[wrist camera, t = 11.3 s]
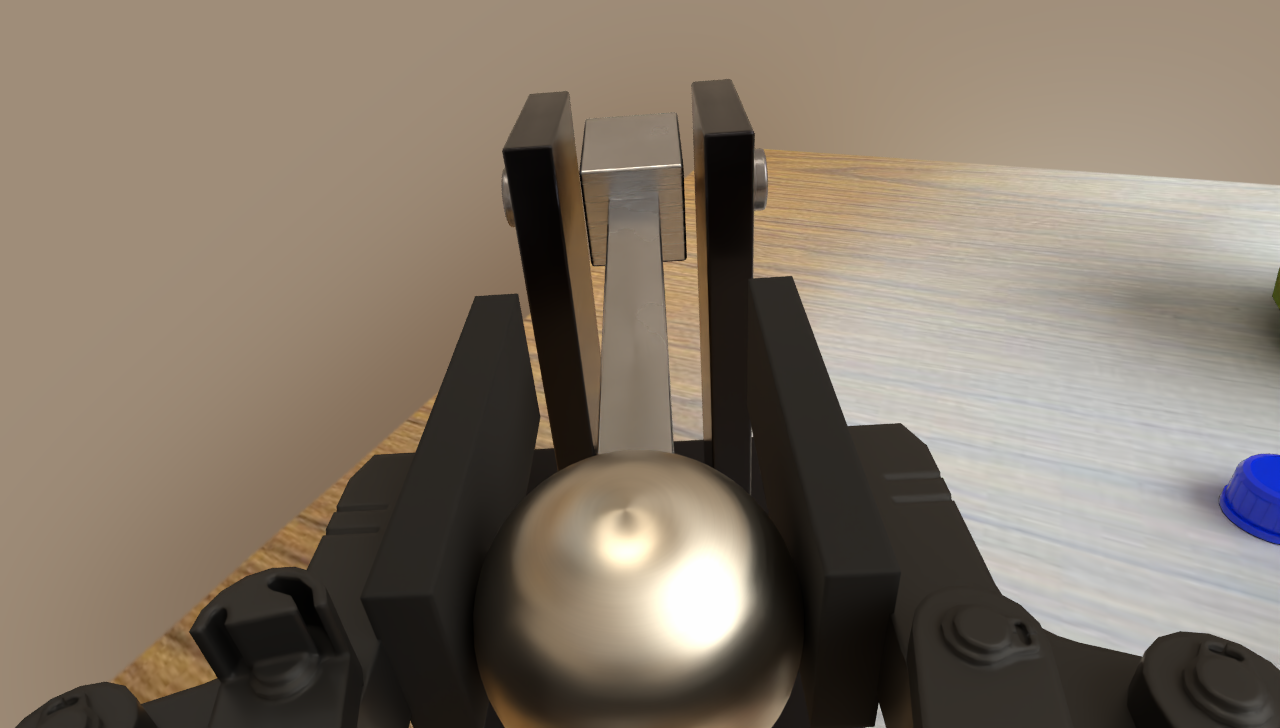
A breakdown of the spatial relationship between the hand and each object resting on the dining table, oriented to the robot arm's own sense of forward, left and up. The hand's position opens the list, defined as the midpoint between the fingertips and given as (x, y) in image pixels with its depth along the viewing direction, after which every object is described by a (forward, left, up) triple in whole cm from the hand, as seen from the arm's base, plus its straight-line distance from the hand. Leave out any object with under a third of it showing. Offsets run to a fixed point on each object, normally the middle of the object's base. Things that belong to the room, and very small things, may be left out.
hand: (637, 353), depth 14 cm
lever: (0, 0, -2) cm, 2 cm away
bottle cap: (+21, +7, -13) cm, 26 cm away
